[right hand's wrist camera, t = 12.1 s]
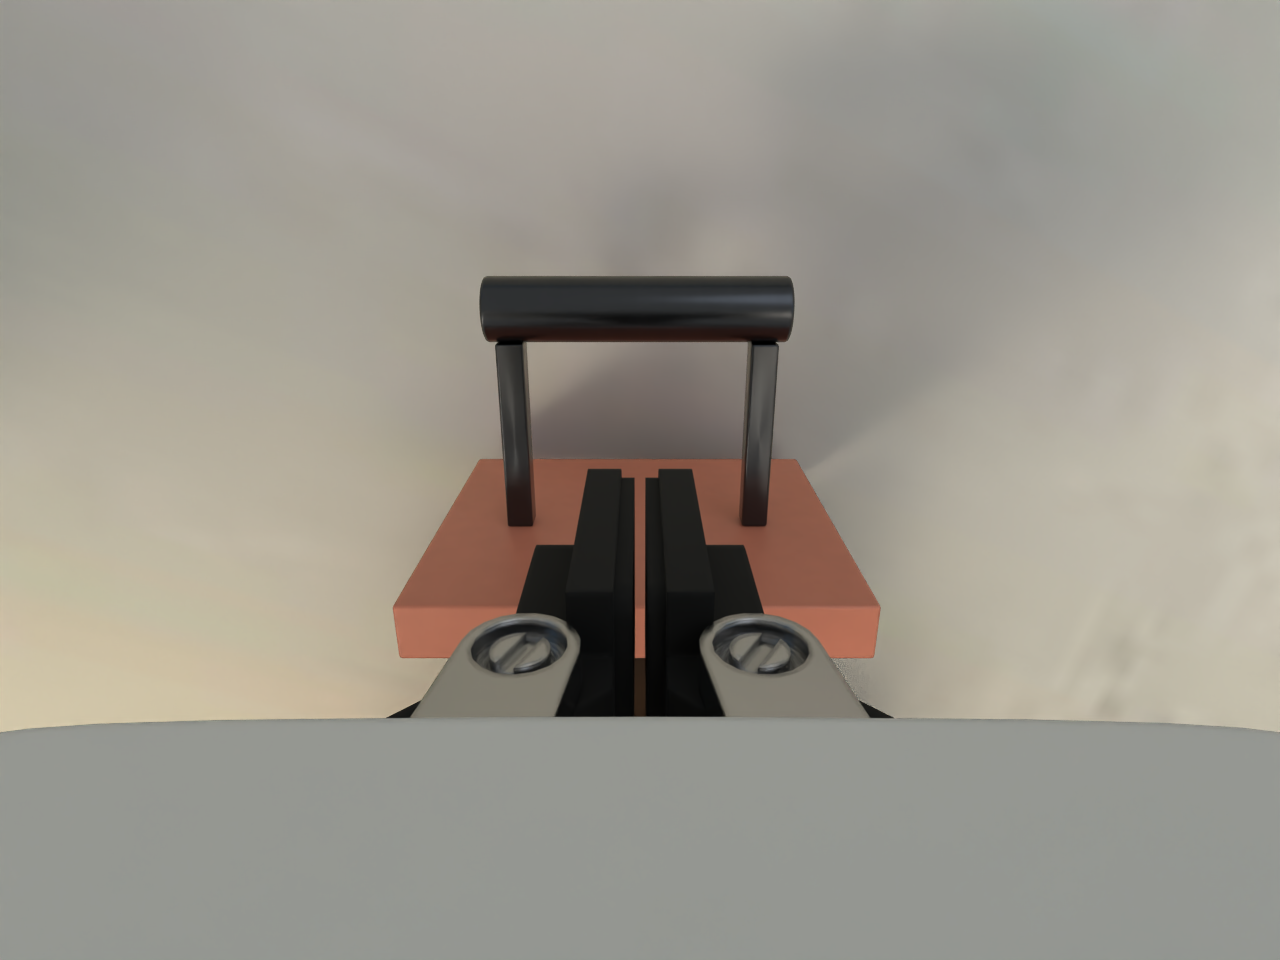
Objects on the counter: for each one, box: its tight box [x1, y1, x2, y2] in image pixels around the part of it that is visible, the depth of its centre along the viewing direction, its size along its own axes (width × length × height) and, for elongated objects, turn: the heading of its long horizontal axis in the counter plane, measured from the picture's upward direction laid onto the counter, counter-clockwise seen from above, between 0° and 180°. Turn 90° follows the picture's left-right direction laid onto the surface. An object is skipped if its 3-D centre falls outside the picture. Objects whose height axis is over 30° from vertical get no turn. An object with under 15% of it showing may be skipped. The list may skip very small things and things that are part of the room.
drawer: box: [393, 276, 881, 717], centre depth 21 cm, size 24×9×8 cm, turn 0°
